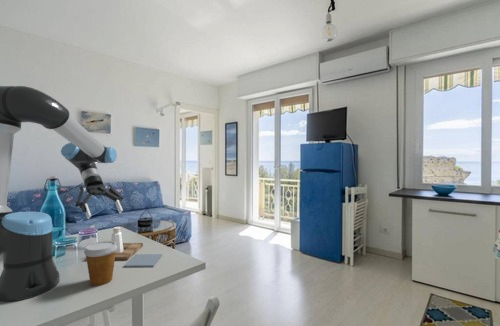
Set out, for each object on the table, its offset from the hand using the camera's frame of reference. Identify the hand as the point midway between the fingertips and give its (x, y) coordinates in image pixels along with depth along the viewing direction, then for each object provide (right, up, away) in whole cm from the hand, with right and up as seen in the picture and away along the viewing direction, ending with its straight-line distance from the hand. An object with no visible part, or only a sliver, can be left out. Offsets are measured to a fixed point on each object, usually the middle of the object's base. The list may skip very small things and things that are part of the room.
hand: (106, 214), depth 115 cm
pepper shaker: (+8, -15, -6) cm, 19 cm away
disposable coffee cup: (+16, -16, -31) cm, 38 cm away
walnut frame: (+8, -15, -6) cm, 18 cm away
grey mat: (+24, -15, -15) cm, 32 cm away
